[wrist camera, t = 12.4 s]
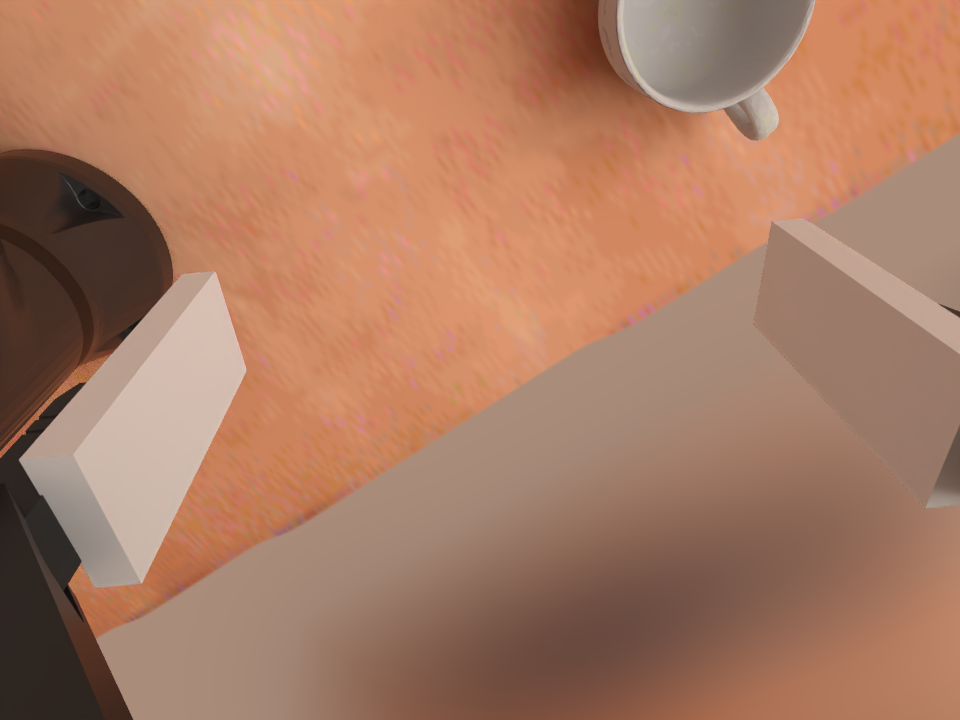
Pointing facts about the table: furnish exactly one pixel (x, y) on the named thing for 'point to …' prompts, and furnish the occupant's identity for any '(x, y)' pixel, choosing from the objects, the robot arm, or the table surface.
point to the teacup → (705, 53)
